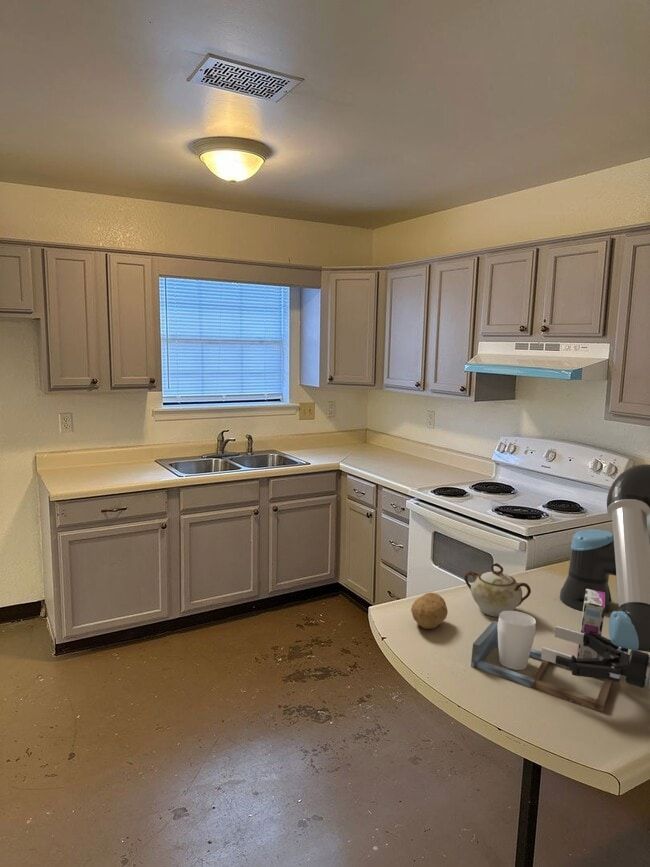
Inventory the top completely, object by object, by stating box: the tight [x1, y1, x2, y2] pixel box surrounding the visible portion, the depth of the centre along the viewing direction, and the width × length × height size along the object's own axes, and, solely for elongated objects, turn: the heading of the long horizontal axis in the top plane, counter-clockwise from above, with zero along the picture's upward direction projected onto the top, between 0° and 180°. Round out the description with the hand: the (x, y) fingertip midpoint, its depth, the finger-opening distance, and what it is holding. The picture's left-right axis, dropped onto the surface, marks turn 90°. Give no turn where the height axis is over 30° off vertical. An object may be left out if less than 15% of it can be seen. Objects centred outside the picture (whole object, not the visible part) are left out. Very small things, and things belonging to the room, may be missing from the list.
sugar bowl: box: [464, 562, 532, 618], centre depth 177 cm, size 20×15×15 cm
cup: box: [497, 610, 537, 671], centre depth 148 cm, size 9×9×12 cm
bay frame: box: [470, 620, 614, 713], centre depth 144 cm, size 30×16×6 cm, turn 56°
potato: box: [410, 592, 449, 630], centre depth 166 cm, size 10×14×8 cm
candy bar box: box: [576, 589, 606, 658], centre depth 153 cm, size 11×5×16 cm, turn 155°
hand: (548, 641), depth 143 cm, fingers open, 13 cm apart
